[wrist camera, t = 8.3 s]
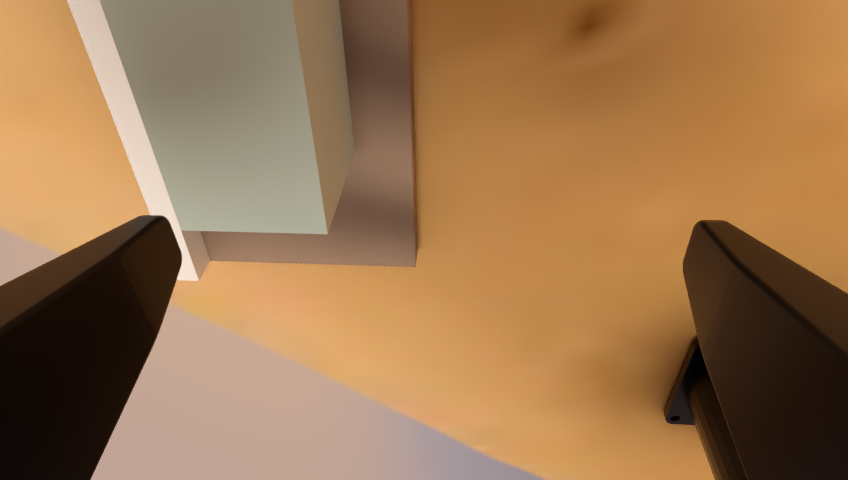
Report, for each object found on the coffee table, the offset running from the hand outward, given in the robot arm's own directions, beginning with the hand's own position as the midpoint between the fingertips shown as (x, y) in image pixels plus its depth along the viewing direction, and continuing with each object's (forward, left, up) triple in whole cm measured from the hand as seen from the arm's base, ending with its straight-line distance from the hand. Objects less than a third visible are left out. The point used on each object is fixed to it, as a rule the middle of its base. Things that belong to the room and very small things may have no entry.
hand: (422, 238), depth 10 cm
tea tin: (-1, +6, -10) cm, 12 cm away
